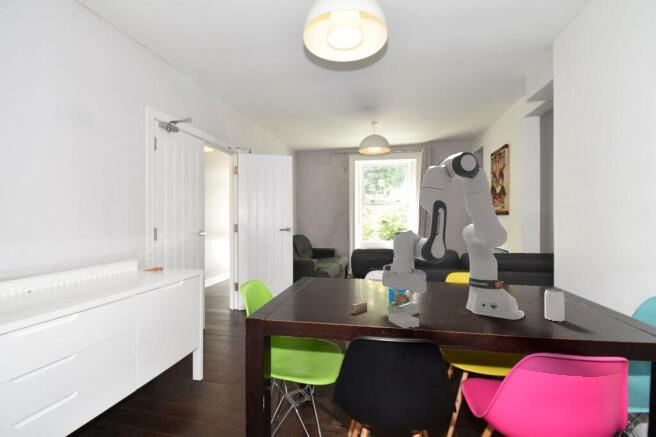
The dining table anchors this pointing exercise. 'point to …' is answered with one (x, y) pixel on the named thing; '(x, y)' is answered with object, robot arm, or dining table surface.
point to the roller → (401, 298)
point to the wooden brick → (359, 307)
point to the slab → (403, 320)
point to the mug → (392, 294)
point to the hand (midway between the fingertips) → (403, 299)
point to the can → (554, 304)
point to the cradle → (404, 308)
